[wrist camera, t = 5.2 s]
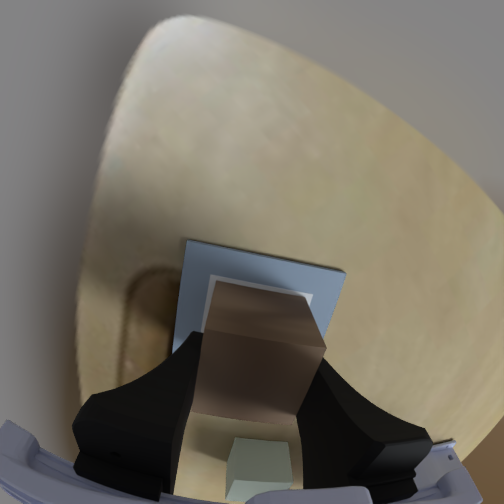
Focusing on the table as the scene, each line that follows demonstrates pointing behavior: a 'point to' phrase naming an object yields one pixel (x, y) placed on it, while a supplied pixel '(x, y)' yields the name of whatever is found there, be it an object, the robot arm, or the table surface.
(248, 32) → the table surface
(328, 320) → the pad
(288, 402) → the walnut cube
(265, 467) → the sage cube
